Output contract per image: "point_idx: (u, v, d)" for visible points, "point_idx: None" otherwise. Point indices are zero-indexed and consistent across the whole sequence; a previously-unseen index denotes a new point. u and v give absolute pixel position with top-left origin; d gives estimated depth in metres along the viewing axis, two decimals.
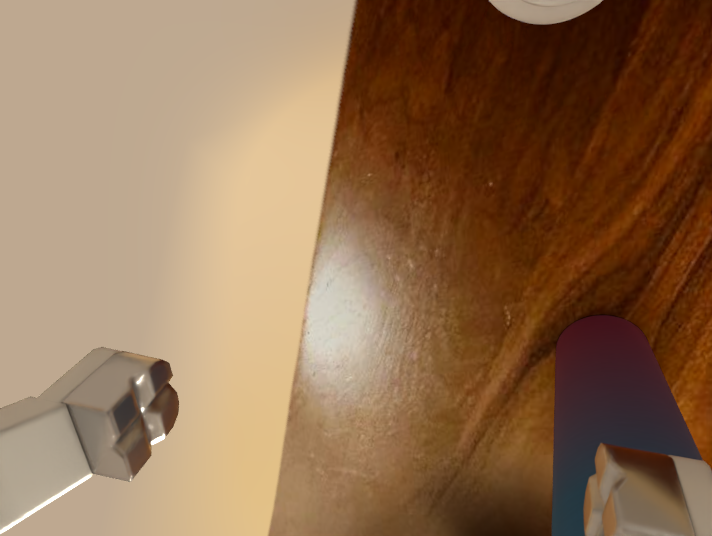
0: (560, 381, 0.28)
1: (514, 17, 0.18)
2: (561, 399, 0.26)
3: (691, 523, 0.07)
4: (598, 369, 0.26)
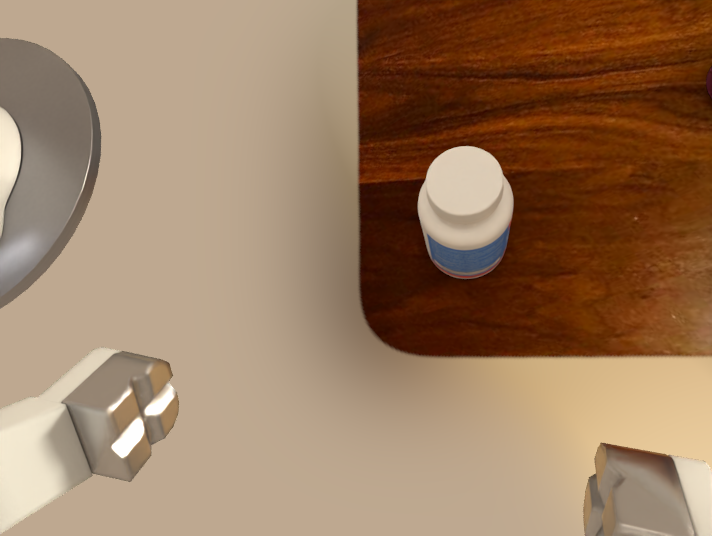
0: None
1: (512, 205, 0.29)
2: None
3: (691, 523, 0.07)
4: None
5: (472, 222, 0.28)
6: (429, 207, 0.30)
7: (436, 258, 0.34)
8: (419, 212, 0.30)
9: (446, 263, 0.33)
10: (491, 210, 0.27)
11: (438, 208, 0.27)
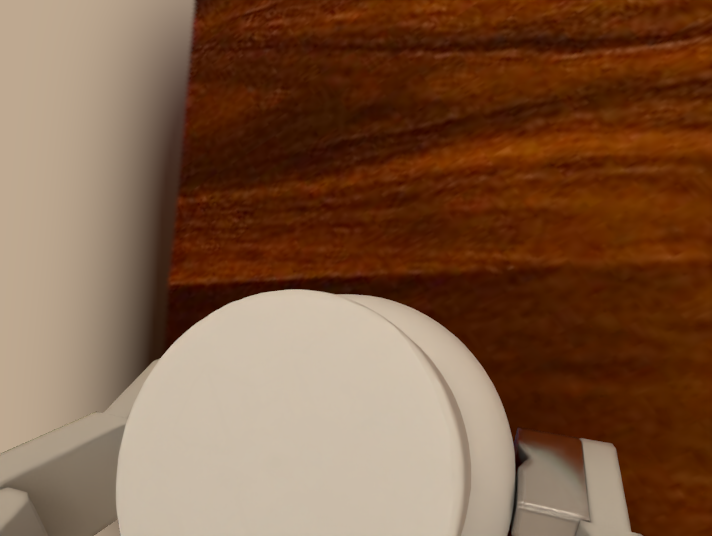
0: None
1: (512, 493, 0.08)
2: None
3: (587, 500, 0.07)
4: None
5: None
6: None
7: None
8: None
9: None
10: None
11: None
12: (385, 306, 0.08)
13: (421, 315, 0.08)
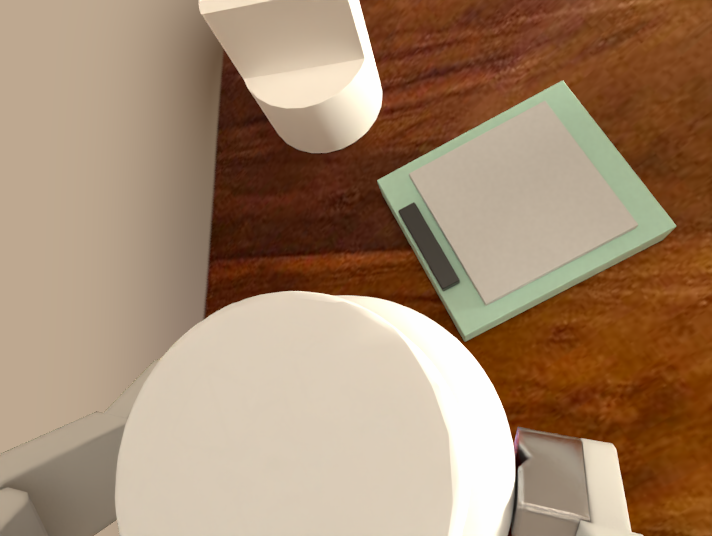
0: None
1: (512, 494, 0.08)
2: None
3: (587, 500, 0.07)
4: None
5: None
6: None
7: None
8: None
9: None
10: None
11: None
12: (385, 307, 0.08)
13: (421, 316, 0.08)
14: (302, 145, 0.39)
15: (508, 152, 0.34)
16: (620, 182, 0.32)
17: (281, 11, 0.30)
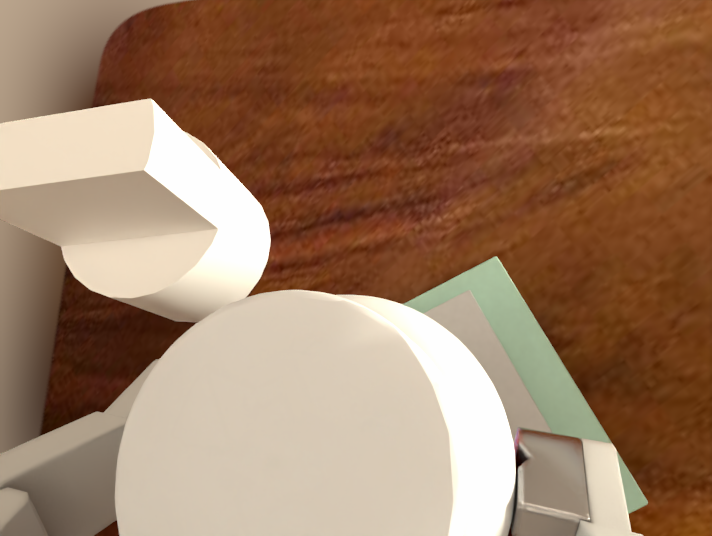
0: None
1: (512, 494, 0.08)
2: None
3: (587, 500, 0.07)
4: None
5: None
6: None
7: None
8: None
9: None
10: None
11: None
12: (385, 306, 0.08)
13: (421, 315, 0.08)
14: None
15: None
16: (569, 424, 0.23)
17: (66, 192, 0.21)
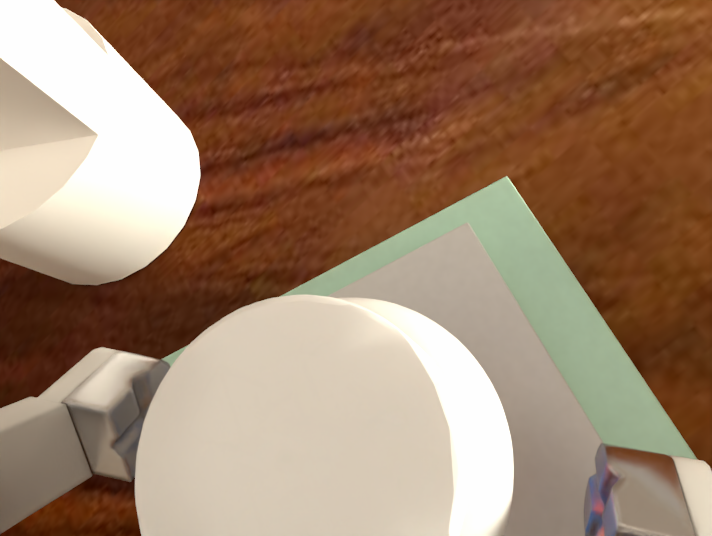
0: None
1: (510, 488, 0.08)
2: None
3: (691, 523, 0.07)
4: None
5: None
6: None
7: None
8: None
9: None
10: None
11: None
12: (388, 309, 0.09)
13: (422, 317, 0.09)
14: None
15: None
16: (623, 420, 0.15)
17: None
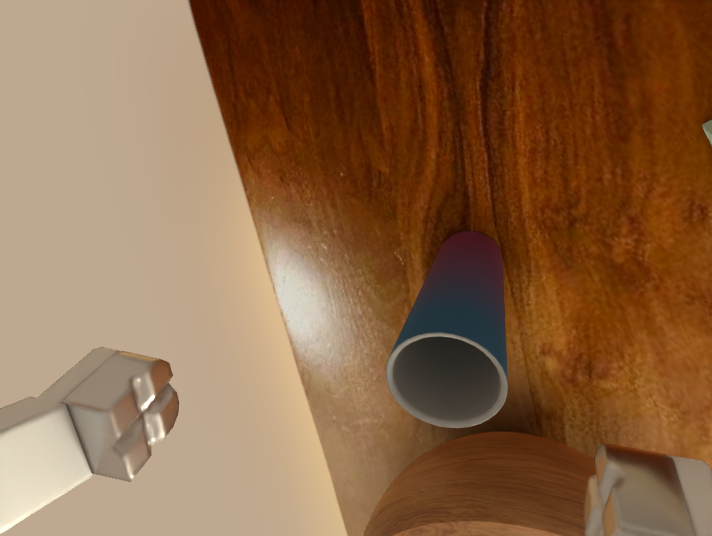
0: None
1: None
2: None
3: (691, 523, 0.07)
4: (435, 266, 0.37)
5: None
6: None
7: None
8: None
9: None
10: None
11: None
12: None
13: None
14: None
15: None
16: None
17: None
